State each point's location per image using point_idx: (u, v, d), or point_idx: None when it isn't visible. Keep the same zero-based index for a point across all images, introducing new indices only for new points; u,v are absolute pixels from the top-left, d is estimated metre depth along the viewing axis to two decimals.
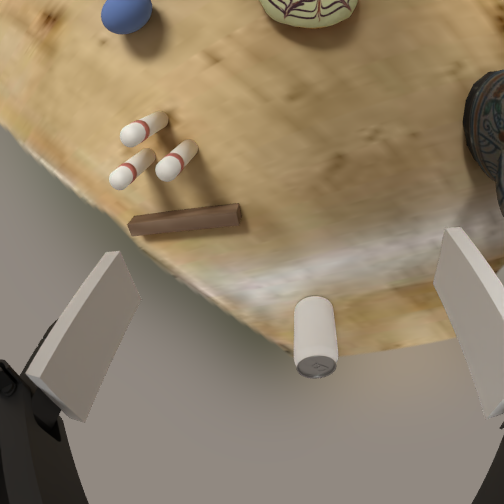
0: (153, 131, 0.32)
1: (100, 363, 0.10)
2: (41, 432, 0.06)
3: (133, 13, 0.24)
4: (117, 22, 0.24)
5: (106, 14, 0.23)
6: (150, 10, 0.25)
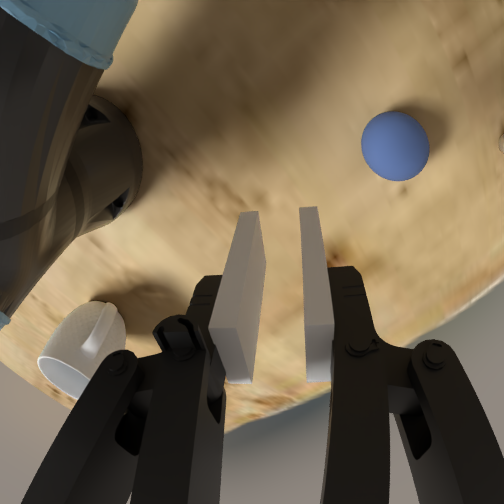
0: None
1: (256, 319, 0.11)
2: (208, 415, 0.07)
3: (418, 132, 0.20)
4: (424, 156, 0.21)
5: (408, 170, 0.22)
6: None
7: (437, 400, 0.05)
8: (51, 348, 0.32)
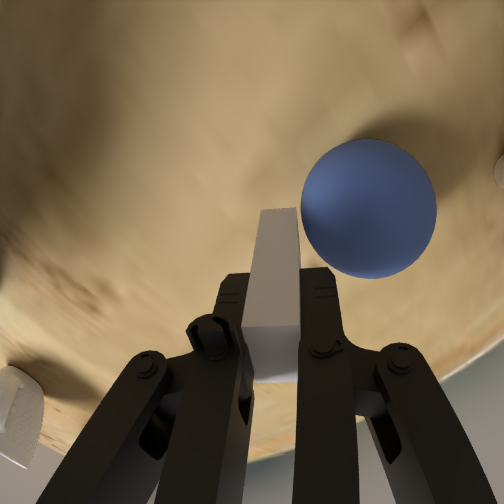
0: None
1: None
2: (238, 417, 0.07)
3: None
4: None
5: None
6: (362, 139, 0.12)
7: (404, 405, 0.05)
8: None
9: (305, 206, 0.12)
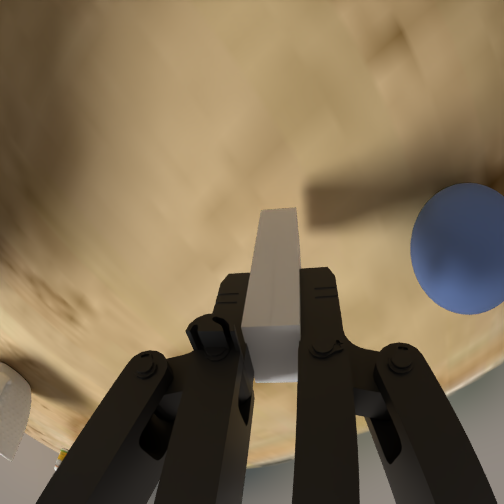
0: None
1: None
2: (238, 417, 0.07)
3: (430, 202, 0.12)
4: (411, 237, 0.13)
5: None
6: (482, 203, 0.10)
7: (404, 405, 0.05)
8: None
9: None
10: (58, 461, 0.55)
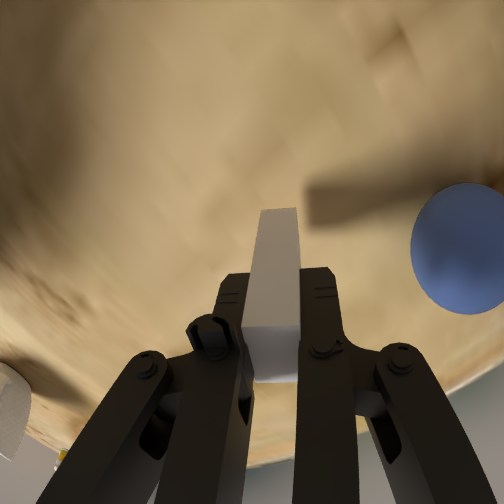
0: None
1: None
2: (238, 417, 0.07)
3: (430, 202, 0.12)
4: (411, 237, 0.13)
5: None
6: (482, 203, 0.10)
7: (404, 405, 0.05)
8: None
9: None
10: (58, 461, 0.55)
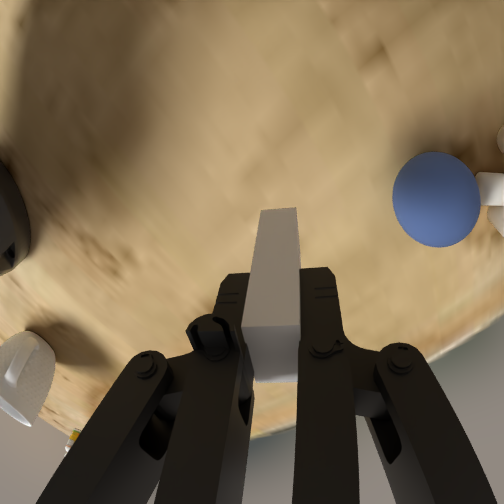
0: None
1: None
2: (238, 417, 0.07)
3: (404, 165, 0.17)
4: None
5: None
6: (439, 161, 0.15)
7: (404, 405, 0.05)
8: None
9: (480, 203, 0.15)
10: (70, 441, 0.61)
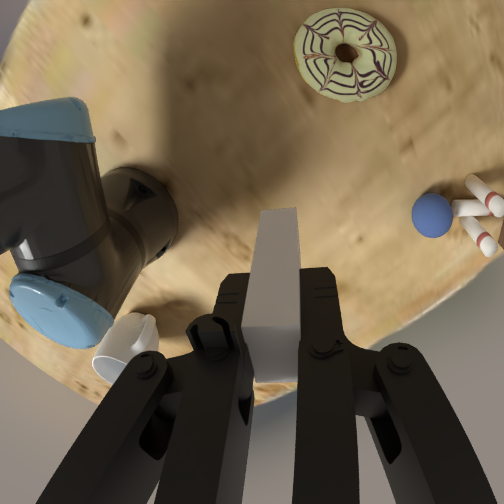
0: None
1: None
2: (238, 417, 0.07)
3: (417, 199, 0.37)
4: None
5: None
6: (433, 199, 0.34)
7: (404, 405, 0.05)
8: (106, 349, 0.47)
9: (452, 217, 0.35)
10: None
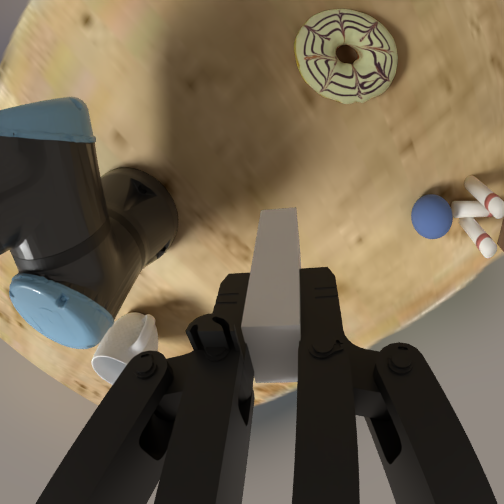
0: None
1: None
2: (238, 417, 0.07)
3: (417, 201, 0.37)
4: (411, 213, 0.38)
5: None
6: (433, 201, 0.35)
7: (404, 405, 0.05)
8: (105, 349, 0.47)
9: (452, 218, 0.35)
10: None
